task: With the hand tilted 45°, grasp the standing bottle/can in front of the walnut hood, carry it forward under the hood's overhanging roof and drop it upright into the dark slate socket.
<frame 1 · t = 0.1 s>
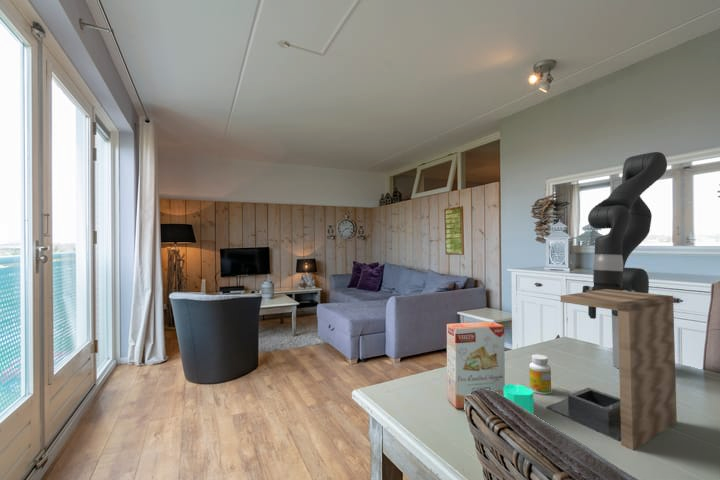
hand: (607, 320, 104), 17 cm above the table, tool pointing down, fingers open, 8 cm apart
candle: (519, 438, 72), on the table
hood: (619, 420, 78), on the table
socket: (598, 414, 81), on the table
cracker box: (476, 403, 88), on the table
supplement bottle: (540, 391, 94), on the table
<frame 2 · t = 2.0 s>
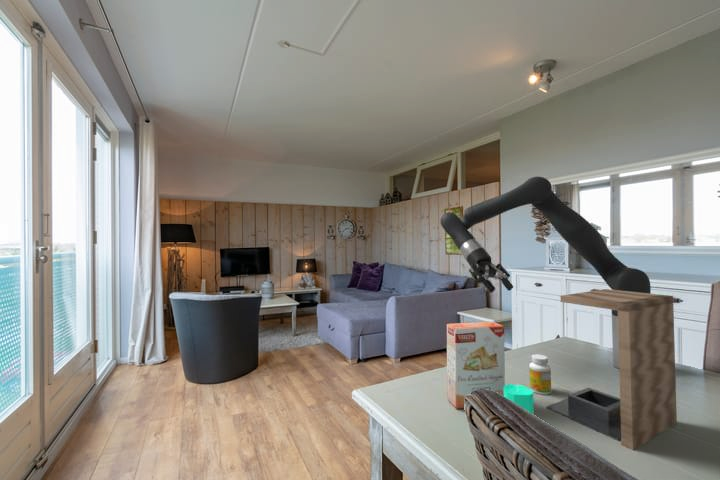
hand: (502, 290, 109), 27 cm above the table, tool tilted 45°, fingers open, 8 cm apart
nothing on the table moved.
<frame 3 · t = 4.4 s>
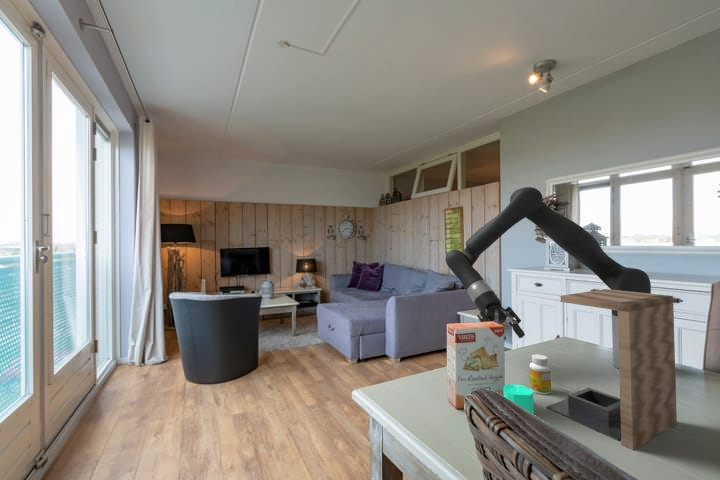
hand: (513, 338, 102), 13 cm above the table, tool tilted 45°, fingers open, 8 cm apart
nothing on the table moved.
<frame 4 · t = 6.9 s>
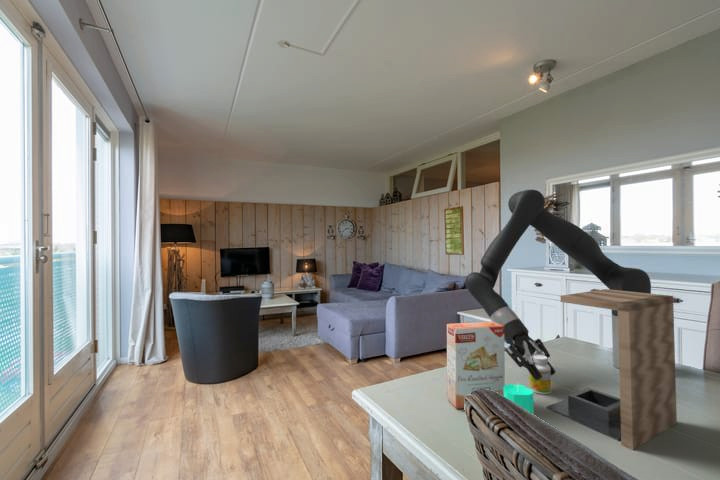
hand: (546, 376, 93), 5 cm above the table, tool tilted 45°, fingers closed on supplement bottle, 5 cm apart
supplement bottle: (540, 391, 94), on the table, touching gripper
everything else where it was.
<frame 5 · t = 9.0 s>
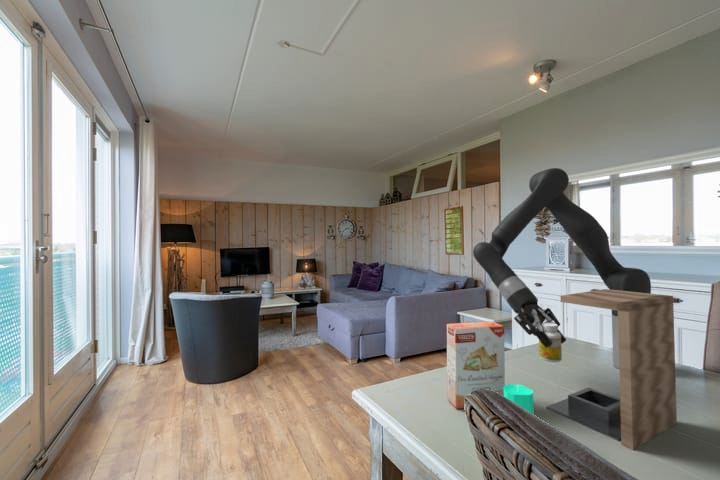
hand: (556, 343, 90), 15 cm above the table, tool tilted 45°, fingers closed on supplement bottle, 5 cm apart
supplement bottle: (550, 359, 92), point 10 cm above the table, touching gripper
everything else where it was.
when the fingers open (6 cm above the table, at t = 11.5 s): supplement bottle drops 1 cm, resting on socket.
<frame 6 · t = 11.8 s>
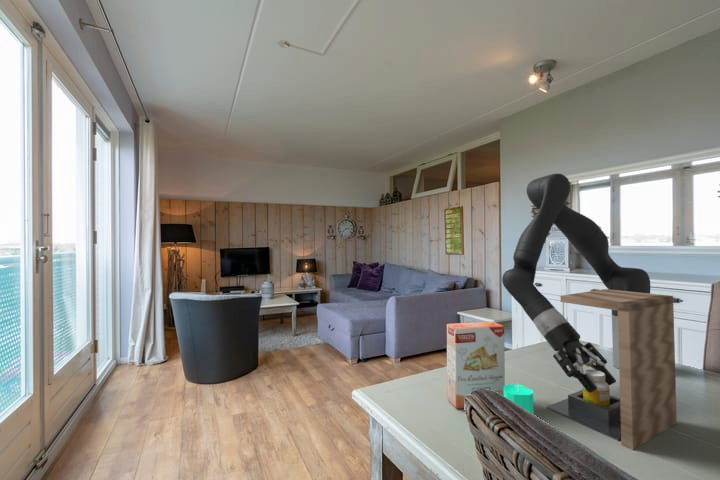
hand: (603, 387, 80), 7 cm above the table, tool tilted 45°, fingers open, 8 cm apart
supplement bottle: (596, 412, 81), resting on socket
everything else where it was.
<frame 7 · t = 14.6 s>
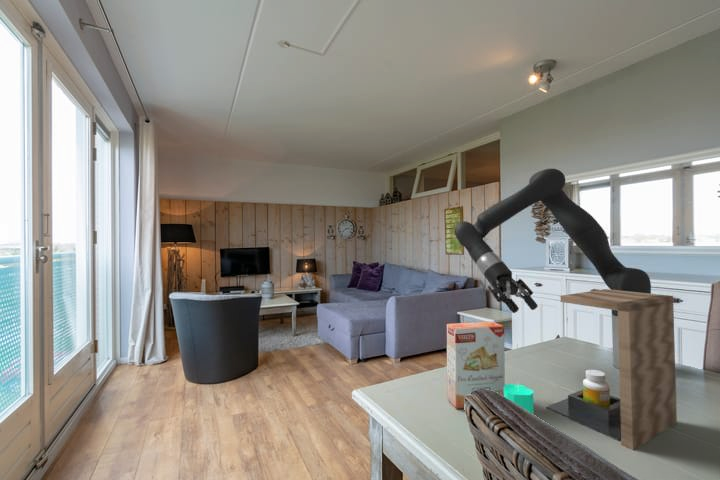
hand: (526, 309, 98), 22 cm above the table, tool tilted 45°, fingers open, 8 cm apart
nothing on the table moved.
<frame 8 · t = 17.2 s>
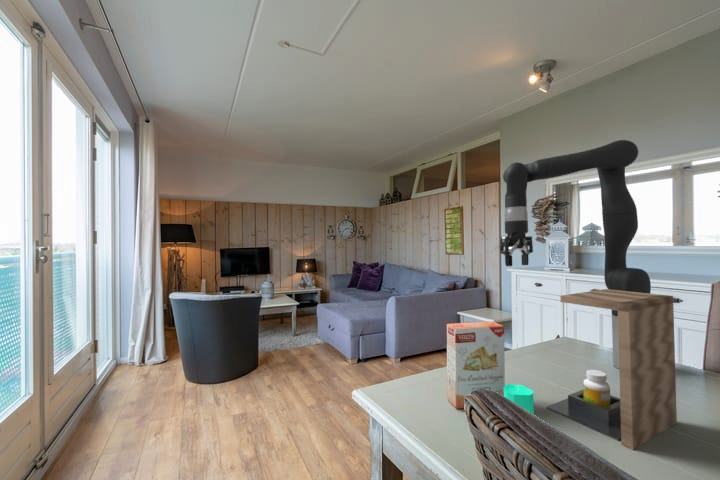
hand: (517, 265, 118), 34 cm above the table, tool pointing down, fingers open, 8 cm apart
nothing on the table moved.
at the end: supplement bottle 0.2 cm off-centre on the socket, point 0.2 cm above the socket's base; supplement bottle tilted 1°; the gripper is holding nothing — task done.
